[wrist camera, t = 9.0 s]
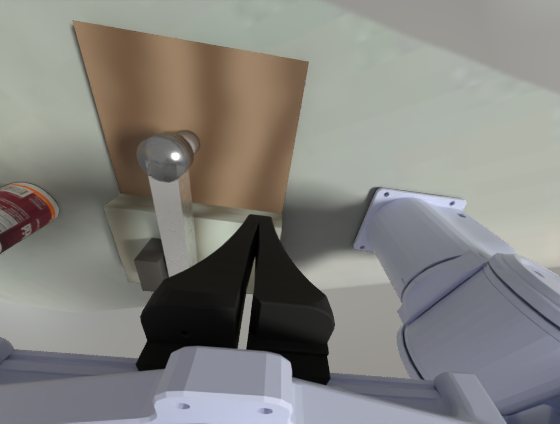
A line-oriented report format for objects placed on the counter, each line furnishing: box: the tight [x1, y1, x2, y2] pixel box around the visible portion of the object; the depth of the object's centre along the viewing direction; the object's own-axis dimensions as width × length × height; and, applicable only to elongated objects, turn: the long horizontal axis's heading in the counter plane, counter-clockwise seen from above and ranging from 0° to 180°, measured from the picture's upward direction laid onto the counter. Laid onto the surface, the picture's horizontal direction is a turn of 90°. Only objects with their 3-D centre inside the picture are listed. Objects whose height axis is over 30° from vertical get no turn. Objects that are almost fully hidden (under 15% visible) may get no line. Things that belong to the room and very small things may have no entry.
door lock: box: [72, 20, 309, 294], centre depth 19 cm, size 16×23×6 cm
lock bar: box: [137, 131, 198, 277], centre depth 18 cm, size 14×3×2 cm, turn 172°
